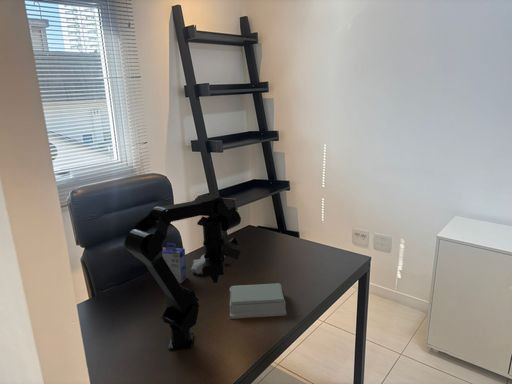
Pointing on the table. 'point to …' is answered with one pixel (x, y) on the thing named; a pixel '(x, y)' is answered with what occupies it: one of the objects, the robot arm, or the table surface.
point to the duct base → (257, 309)
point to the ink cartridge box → (176, 261)
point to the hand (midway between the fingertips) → (215, 282)
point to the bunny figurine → (198, 265)
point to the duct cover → (256, 294)
